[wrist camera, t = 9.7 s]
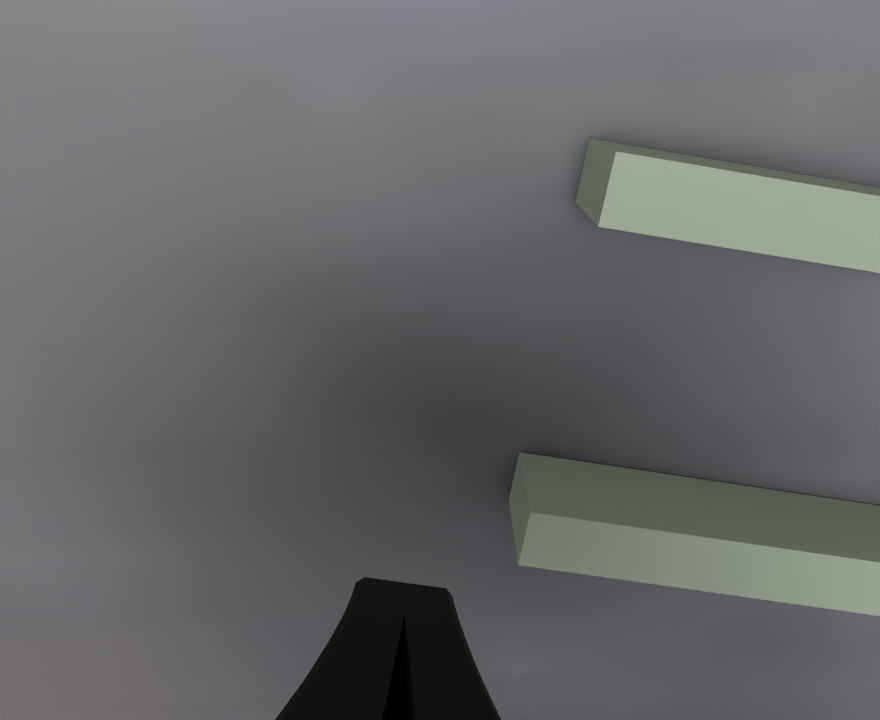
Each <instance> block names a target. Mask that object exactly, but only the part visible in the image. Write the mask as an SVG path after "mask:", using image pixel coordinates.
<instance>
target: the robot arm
mask: <svg viewBox="0 0 880 720" xmlns="http://www.w3.org/2000/svg"><path fill="white" fill-rule="evenodd" d="M275 720H501V719H500V717H499V715H498V713H497V711H496V709H495V706H494V704H493V702H492V700H491V698H490V696H489V693H488V691H487V689H486V687H485V685H484V682H483V680H482V678H481V676H480V674H479V671H478V669H477V666H476V664H475V662H474V659H473V657H472V654H471V652H470V649H469V646H468V644H467V641H466V639H465V636H464V633H463V630H462V628H461V625H460V622H459V619H458V615H457V612H456V609H455V605H454V601H453V597H452V595H451V594H450V593H449V591H448V590H447V589H446V588H438V587H431V586H424V585H417V584H409V583H402V582H395V581H388V580H381V579H373V578H366V577H364V578H363V579H361V580H359V581H358V582H356V584H355V587H354V591H353V594H352V597H351V599H350V601H349V604H348V606H347V608H346V610H345V613H344V615H343V617H342V619H341V620H340V622H339V624H338V626H337V628H336V630H335V631H334V633H333V635H332V637H331V639H330V640H329V642H328V643H327V645H326V647H325V648H324V650H323V651H322V653H321V655H320V656H319V658H318V659H317V661H316V663H315V664H314V666H313V667H312V669H311V671H310V672H309V674H308V675H307V677H306V678H305V680H304V681H303V682H302V684H301V685H300V687H299V688H298V689H297V691H296V692H295V693H294V695H293V696H292V697H291V699H290V700H289V702H288V703H287V704H286V706H285V707H284V708H283V710H282V711H281V713H280V714H279V715H278V717H277V718H276V719H275Z"/></svg>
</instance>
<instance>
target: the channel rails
mask: <svg viewBox="0 0 880 720" xmlns="http://www.w3.org/2000/svg"><path fill="white" fill-rule="evenodd" d="M575 203H576V204H577V205H578V206H579V207H580V208H581V209H582V210H583V211H584V212H585V213H586V214H587V216H588V217H589V218H590V219H591V220H592V221H593V222H594V223H595V224H596V225H597V226H598V227H603V228H609V229H615V230H621V231H627V232H633V233H639V234H646V235H652V236H658V237H664V238H670V239H676V240H682V241H688V242H694V243H700V244H706V245H712V246H719V247H725V248H731V249H737V250H743V251H749V252H755V253H761V254H767V255H773V256H779V257H786V258H792V259H798V260H804V261H810V262H816V263H822V264H828V265H834V266H840V267H846V268H852V269H859V270H865V271H871V272H877V273H880V188H879V187H873V186H867V185H861V184H855V183H850V182H844V181H838V180H832V179H826V178H820V177H814V176H808V175H803V174H797V173H791V172H785V171H779V170H773V169H767V168H761V167H756V166H750V165H744V164H738V163H732V162H726V161H720V160H714V159H709V158H703V157H697V156H691V155H685V154H679V153H673V152H667V151H662V150H656V149H650V148H644V147H638V146H632V145H626V144H620V143H615V142H609V141H603V140H597V139H591V138H589V142H588V146H587V150H586V155H585V159H584V164H583V168H582V173H581V177H580V182H579V186H578V191H577V195H576V200H575ZM509 506H510V513H511V520H512V527H513V533H514V540H515V547H516V554H517V561H518V565H520V566H528V567H535V568H542V569H549V570H556V571H563V572H570V573H577V574H584V575H592V576H599V577H606V578H613V579H620V580H627V581H634V582H641V583H648V584H655V585H663V586H670V587H677V588H684V589H691V590H698V591H705V592H712V593H719V594H727V595H734V596H741V597H748V598H755V599H762V600H769V601H776V602H783V603H791V604H798V605H805V606H812V607H819V608H826V609H833V610H840V611H847V612H854V613H862V614H869V615H876V616H880V506H879V505H873V504H866V503H859V502H852V501H846V500H839V499H832V498H825V497H819V496H812V495H805V494H798V493H792V492H785V491H778V490H771V489H765V488H758V487H751V486H744V485H738V484H731V483H724V482H717V481H711V480H704V479H697V478H690V477H684V476H677V475H670V474H663V473H657V472H650V471H643V470H636V469H630V468H623V467H616V466H610V465H603V464H596V463H589V462H583V461H576V460H569V459H562V458H556V457H549V456H542V455H535V454H529V453H522V452H519V455H518V460H517V464H516V469H515V473H514V478H513V482H512V487H511V491H510V496H509Z"/></svg>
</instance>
